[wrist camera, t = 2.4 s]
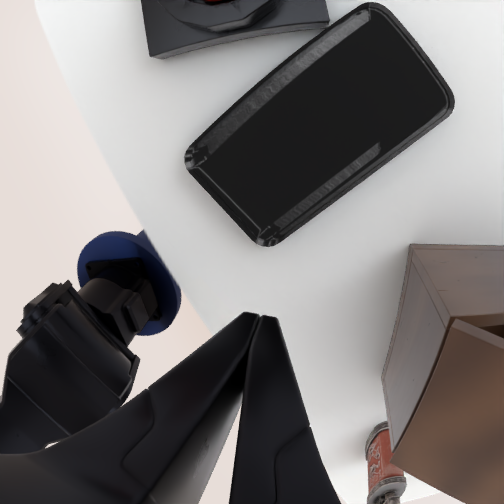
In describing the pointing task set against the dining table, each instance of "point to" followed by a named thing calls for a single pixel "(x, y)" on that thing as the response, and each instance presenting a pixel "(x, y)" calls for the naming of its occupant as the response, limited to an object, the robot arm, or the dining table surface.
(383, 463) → the lighter
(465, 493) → the lid
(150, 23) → the button base
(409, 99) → the phone
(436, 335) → the chest
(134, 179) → the dining table surface
